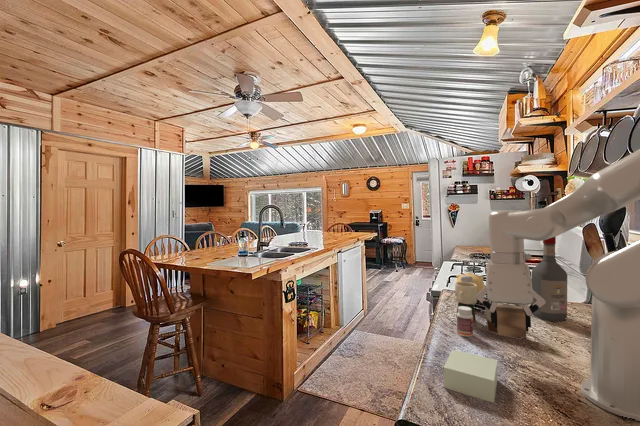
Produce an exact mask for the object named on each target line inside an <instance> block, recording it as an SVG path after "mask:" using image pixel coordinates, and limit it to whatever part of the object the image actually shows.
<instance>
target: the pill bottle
mask: <svg viewBox="0 0 640 426" xmlns="http://www.w3.org/2000/svg"><path fill="white" fill-rule="evenodd" d="M457 307H458V306H457ZM456 314H457V318H456V334H457V335H459V336H461V337H467V338H470V337H473V336H474V321H473V315H472V309H471V308H469V307H465V306H460V307H458V313H457V312H456Z"/></svg>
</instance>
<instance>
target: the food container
mask: <svg viewBox="0 0 640 426" xmlns="http://www.w3.org/2000/svg"><path fill="white" fill-rule="evenodd" d="M486 300H487V301H488V302H489V303H491V301H490V300H489V299H488V298H486ZM498 305H508V306H521V307H522V308H523V306H522V304H511V303H499V302H498ZM482 307H484V309H485V316H486V317H485V318H486V328H487V332H489V333H492V334H496V335H498V331H497V328H495V327H494V324H492V323H491V312H490V310H488V309H487V308H486V307H485V306H484V305H483V304H482ZM523 310H524V308H523ZM503 336H504V337H506V336H505V335H503ZM507 337H508V338H513V339H517V340H523V338H521V337H513V336H507Z"/></svg>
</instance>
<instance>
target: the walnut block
mask: <svg viewBox="0 0 640 426" xmlns="http://www.w3.org/2000/svg"><path fill="white" fill-rule="evenodd" d="M496 312H497V327H498V328H497V331H498V334H497V335H498V336H504V335H505V336H504V337H508V336H513V337H521V338H522V339H527V332H526V319H525V312H524V310H523V308H522V307H521V306H508V305H497V307H496Z"/></svg>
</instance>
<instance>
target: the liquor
mask: <svg viewBox="0 0 640 426" xmlns="http://www.w3.org/2000/svg"><path fill="white" fill-rule="evenodd" d="M556 237H557V236H556ZM556 237H552V238H550V239H547V240H543V241H542V243H543V248H542V249H543V250H542V251H543V252H542V253H543V254H542V255H543V257H542V259H541V261H540V262H539V263H538V264H537V265H536V266H534V267H533V268H532V270H531V271H530V276H531V281H532V289H533V290H534V291H535V292H536V293H538V294H539V295H540V296H541V297H542V298H543V299H544V300H545V301H546V303H545V304H544V305H543V306H541V307H540V308H539V309H538V310H537V311H535V312H534V313H533V314H532V316H534V317H537V318H538V319H540V320H542V321H543V320H544V321H549V322H565V320H566V319H567V318H568V273H567V271H566V270H565V269H564V268H563V267H562V266H561V265H560V264H559V263H558V262H557V259H556V243H557V242H556ZM536 301H537V300H536V299H535V298H534V297H533V302H532V303H531V304H530V305H532V304H533V303H535V302H536Z"/></svg>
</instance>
